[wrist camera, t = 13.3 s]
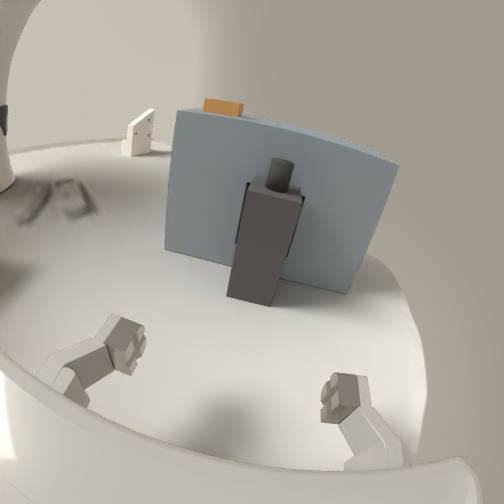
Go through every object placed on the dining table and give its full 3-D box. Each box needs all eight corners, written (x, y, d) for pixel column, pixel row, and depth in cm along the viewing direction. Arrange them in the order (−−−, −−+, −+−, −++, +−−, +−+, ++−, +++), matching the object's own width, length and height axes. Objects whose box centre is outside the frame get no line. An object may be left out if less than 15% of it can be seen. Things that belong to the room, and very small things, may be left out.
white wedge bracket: (164, 139, 58) (154, 109, 50) (135, 166, 53) (121, 135, 46) (153, 137, 59) (144, 108, 51) (125, 163, 55) (111, 133, 47)
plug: (269, 306, 22) (310, 174, 16) (226, 296, 22) (253, 160, 16) (276, 257, 28) (305, 154, 23) (242, 249, 28) (265, 144, 23)
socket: (345, 293, 25) (403, 152, 18) (164, 248, 26) (179, 96, 18) (336, 252, 32) (376, 139, 25) (191, 216, 32) (208, 97, 25)
